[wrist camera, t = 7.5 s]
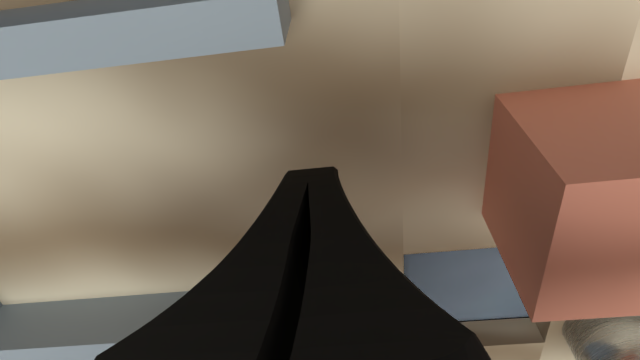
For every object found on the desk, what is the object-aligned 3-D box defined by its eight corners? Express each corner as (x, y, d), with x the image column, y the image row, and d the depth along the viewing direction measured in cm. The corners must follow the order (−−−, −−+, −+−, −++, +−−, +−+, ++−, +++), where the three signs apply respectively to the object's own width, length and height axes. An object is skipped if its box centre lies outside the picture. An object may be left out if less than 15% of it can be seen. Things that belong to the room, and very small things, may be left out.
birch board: (619, 339, 19) (635, 365, 18) (61, 373, 21) (48, 397, 20) (836, -138, 9) (897, -140, 8) (-239, 14, 11) (-292, 26, 10)
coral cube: (616, 201, 13) (714, 310, 10) (481, 213, 13) (531, 322, 10) (659, 76, 11) (805, 162, 7) (495, 94, 11) (566, 184, 8)
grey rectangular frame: (335, 299, 16) (336, 347, 14) (-7, 323, 17) (-43, 371, 15) (284, -29, 9) (275, -9, 8) (-256, 45, 11) (-362, 75, 9)
